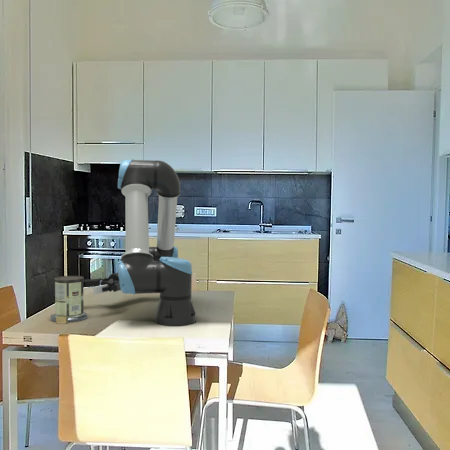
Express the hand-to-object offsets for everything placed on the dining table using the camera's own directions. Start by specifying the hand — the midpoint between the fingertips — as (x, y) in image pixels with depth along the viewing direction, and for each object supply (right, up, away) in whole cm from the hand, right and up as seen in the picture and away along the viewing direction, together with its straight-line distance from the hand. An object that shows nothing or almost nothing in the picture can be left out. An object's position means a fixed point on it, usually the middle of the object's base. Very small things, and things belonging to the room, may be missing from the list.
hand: (81, 288), depth 178 cm
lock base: (-3, -10, -5) cm, 12 cm away
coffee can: (-3, -9, -5) cm, 11 cm away
